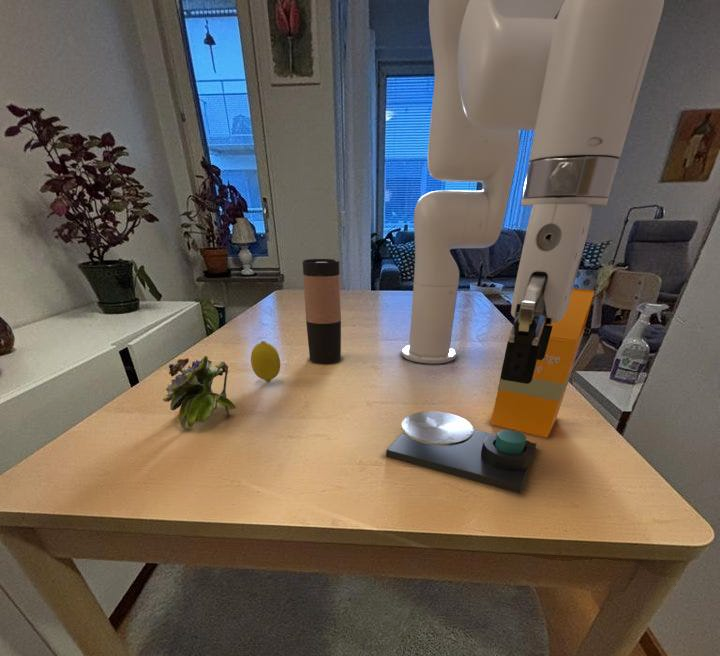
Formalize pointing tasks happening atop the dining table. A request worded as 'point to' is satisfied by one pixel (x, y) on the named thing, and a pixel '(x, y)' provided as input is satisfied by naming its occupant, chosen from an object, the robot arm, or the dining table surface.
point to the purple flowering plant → (196, 390)
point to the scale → (469, 459)
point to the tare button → (510, 441)
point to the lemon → (265, 361)
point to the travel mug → (323, 309)
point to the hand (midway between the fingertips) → (523, 368)
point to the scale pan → (437, 428)
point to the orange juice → (545, 375)
